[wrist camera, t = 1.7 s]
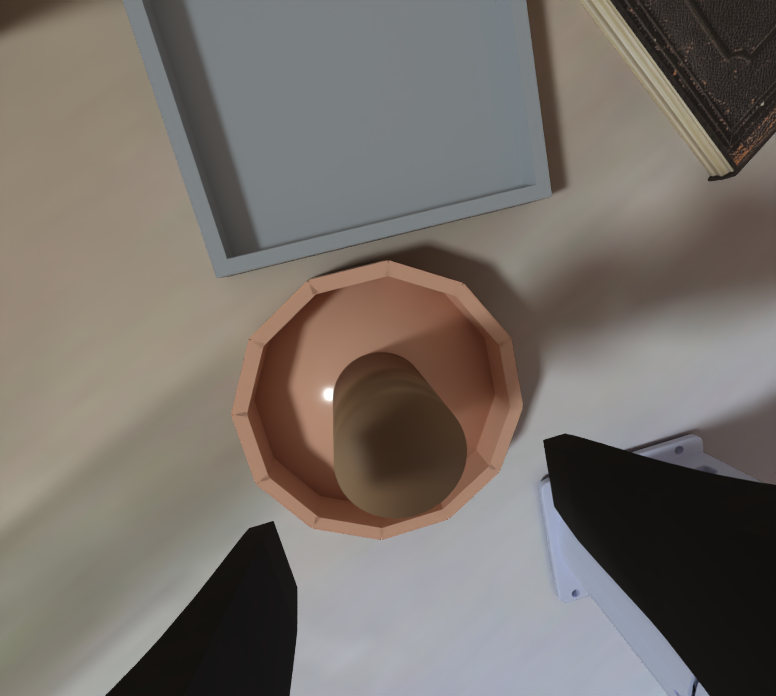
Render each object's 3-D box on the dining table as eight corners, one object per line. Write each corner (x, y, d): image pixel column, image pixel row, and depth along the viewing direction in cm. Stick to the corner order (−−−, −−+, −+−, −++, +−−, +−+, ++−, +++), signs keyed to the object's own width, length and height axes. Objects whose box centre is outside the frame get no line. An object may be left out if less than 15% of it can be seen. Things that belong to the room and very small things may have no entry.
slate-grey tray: (485, -115, 16) (504, -163, 14) (531, 202, 18) (552, 196, 17) (119, -52, 14) (90, -95, 13) (228, 276, 17) (216, 278, 15)
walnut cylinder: (414, 341, 18) (453, 377, 13) (434, 426, 19) (477, 496, 14) (321, 366, 18) (317, 415, 12) (346, 451, 19) (353, 534, 13)
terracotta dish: (474, 237, 18) (493, 233, 16) (516, 468, 21) (537, 491, 19) (209, 303, 17) (192, 308, 15) (291, 537, 20) (286, 569, 18)
